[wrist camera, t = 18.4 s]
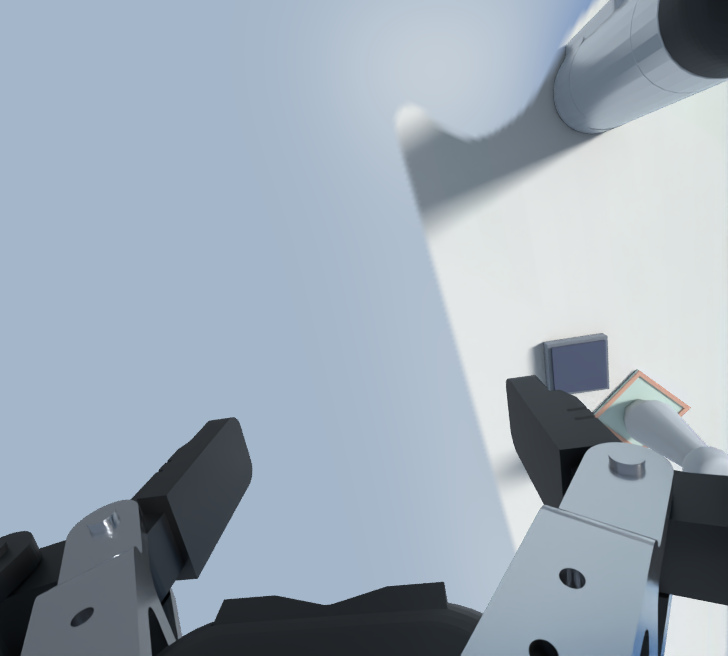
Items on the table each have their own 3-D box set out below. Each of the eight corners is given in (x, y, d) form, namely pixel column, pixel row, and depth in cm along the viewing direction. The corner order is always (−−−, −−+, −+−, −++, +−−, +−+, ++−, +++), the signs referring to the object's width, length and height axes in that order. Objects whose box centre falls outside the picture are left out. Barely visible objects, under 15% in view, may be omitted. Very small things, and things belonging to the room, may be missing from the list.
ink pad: (543, 341, 49) (548, 346, 47) (602, 333, 48) (609, 336, 47) (547, 392, 51) (552, 397, 49) (604, 384, 50) (610, 390, 48)
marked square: (589, 418, 51) (591, 420, 51) (637, 369, 49) (639, 370, 49) (638, 452, 52) (640, 454, 52) (688, 405, 50) (690, 407, 49)
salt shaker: (673, 403, 50) (767, 465, 37) (647, 439, 51) (729, 510, 39) (631, 386, 49) (711, 442, 37) (607, 423, 51) (676, 489, 38)
